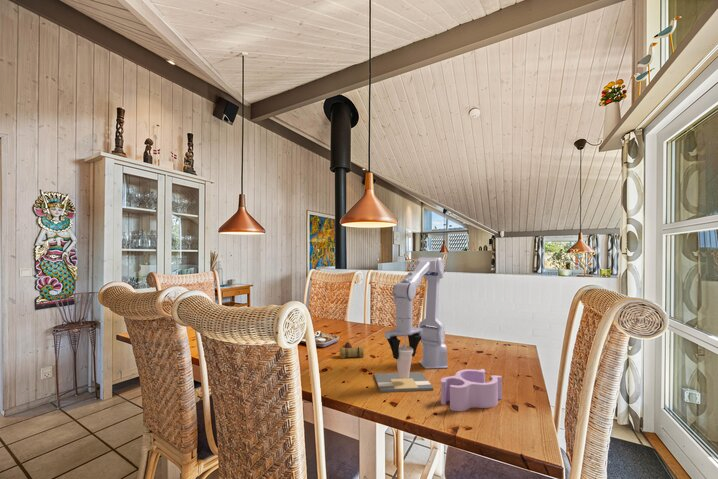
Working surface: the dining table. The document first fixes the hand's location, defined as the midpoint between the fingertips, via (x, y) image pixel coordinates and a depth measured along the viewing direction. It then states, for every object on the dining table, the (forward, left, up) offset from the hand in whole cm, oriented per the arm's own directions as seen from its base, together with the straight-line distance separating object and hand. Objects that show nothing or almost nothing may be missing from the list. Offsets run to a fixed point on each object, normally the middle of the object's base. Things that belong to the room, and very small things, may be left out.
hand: (404, 357), depth 110 cm
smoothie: (0, -1, -7) cm, 7 cm away
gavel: (+16, -40, -10) cm, 45 cm away
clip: (-18, +12, -10) cm, 24 cm away
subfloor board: (0, -3, -10) cm, 10 cm away
